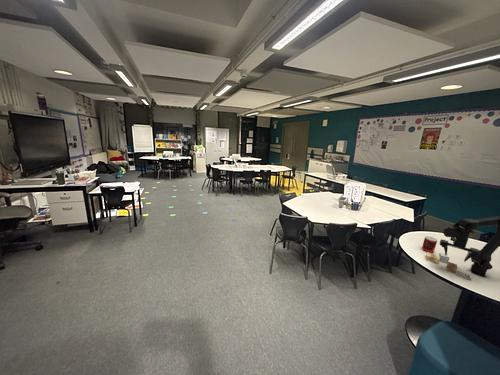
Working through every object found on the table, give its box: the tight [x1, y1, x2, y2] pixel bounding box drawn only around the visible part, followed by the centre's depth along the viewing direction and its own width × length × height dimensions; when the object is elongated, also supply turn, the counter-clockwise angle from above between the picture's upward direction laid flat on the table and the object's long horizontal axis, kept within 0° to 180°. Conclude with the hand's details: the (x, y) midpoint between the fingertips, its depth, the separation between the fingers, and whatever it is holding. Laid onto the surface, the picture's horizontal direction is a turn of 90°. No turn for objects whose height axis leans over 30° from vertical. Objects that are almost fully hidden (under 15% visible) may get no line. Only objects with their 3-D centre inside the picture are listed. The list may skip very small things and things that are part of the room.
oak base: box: [425, 252, 440, 265], centre depth 151 cm, size 7×7×4 cm
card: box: [455, 270, 472, 281], centre depth 136 cm, size 7×7×1 cm
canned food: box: [421, 235, 438, 254], centre depth 164 cm, size 8×8×11 cm
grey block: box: [438, 252, 450, 264], centre depth 151 cm, size 4×4×5 cm
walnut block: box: [445, 261, 458, 274], centre depth 140 cm, size 4×4×5 cm
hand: (454, 258), depth 138 cm, fingers open, 9 cm apart
